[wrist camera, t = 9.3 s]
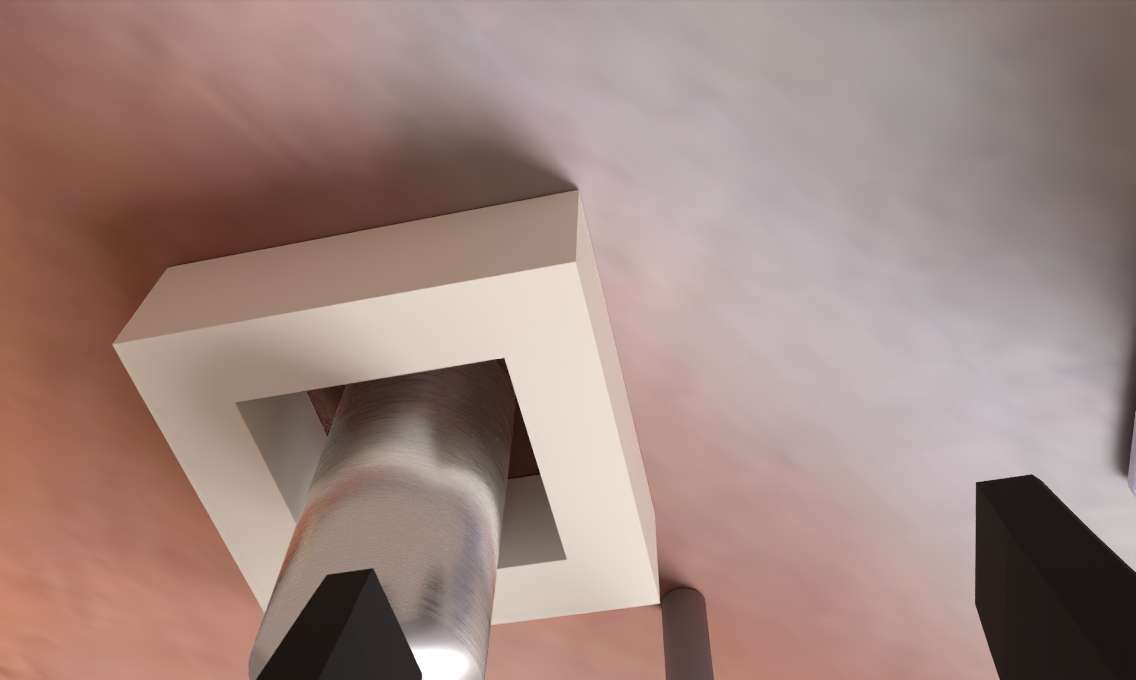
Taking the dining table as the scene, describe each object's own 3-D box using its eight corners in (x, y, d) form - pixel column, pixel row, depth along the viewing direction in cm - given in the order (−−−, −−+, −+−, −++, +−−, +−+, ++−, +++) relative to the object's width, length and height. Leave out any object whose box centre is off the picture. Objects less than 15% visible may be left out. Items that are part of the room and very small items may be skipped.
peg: (536, 446, 24) (512, 736, 18) (384, 478, 25) (307, 767, 19) (484, 313, 22) (435, 585, 16) (319, 351, 23) (206, 627, 16)
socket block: (579, 189, 21) (575, 261, 18) (654, 512, 26) (660, 603, 23) (167, 267, 22) (111, 344, 19) (315, 559, 27) (286, 651, 24)
